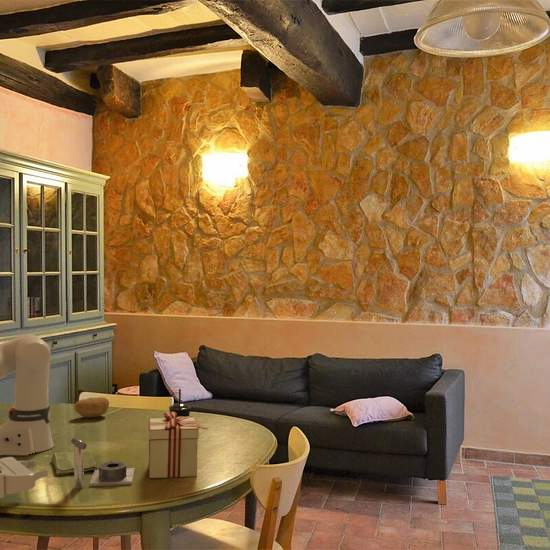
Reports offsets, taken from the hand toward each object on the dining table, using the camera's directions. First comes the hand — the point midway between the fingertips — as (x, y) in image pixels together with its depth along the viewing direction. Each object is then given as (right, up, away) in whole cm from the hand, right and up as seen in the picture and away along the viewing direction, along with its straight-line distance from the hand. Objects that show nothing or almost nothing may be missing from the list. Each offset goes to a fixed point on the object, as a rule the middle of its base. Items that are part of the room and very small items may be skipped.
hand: (40, 467), depth 182 cm
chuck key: (+8, -8, +7) cm, 14 cm away
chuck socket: (+16, -8, +15) cm, 23 cm away
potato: (-11, -5, +88) cm, 89 cm away
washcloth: (+1, -8, +27) cm, 28 cm away
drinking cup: (+32, -7, +49) cm, 59 cm away
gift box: (+34, -8, +23) cm, 42 cm away
